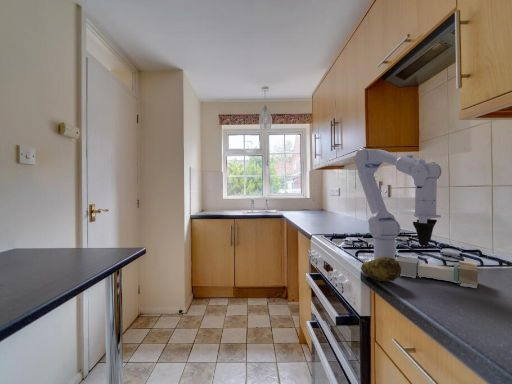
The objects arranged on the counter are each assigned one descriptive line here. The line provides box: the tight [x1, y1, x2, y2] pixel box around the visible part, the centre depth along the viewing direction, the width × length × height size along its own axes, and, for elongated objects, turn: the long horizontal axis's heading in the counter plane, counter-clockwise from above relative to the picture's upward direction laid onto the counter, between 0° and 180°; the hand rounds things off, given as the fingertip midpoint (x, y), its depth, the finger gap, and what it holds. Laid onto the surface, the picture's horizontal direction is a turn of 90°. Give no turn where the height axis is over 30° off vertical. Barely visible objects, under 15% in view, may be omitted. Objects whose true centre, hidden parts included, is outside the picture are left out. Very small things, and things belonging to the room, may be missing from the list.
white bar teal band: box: [417, 262, 459, 282], centre depth 82 cm, size 5×12×4 cm, turn 53°
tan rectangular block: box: [458, 260, 479, 285], centre depth 78 cm, size 7×4×6 cm, turn 143°
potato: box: [360, 257, 401, 282], centre depth 81 cm, size 8×13×8 cm, turn 178°
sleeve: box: [396, 255, 420, 277], centre depth 87 cm, size 6×6×5 cm
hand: (424, 243), depth 87 cm, fingers open, 7 cm apart
